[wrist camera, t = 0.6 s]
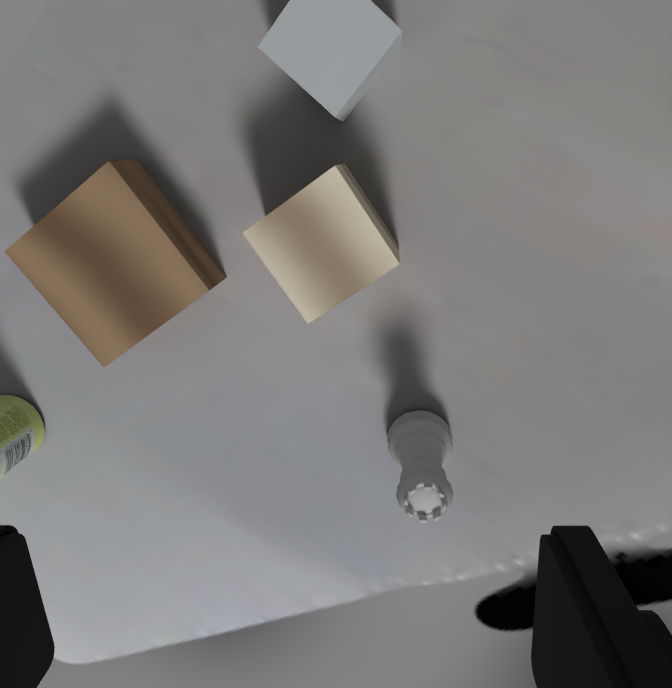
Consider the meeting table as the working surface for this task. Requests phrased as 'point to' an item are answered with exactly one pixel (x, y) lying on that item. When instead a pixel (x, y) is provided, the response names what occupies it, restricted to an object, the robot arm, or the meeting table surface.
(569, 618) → the robot arm
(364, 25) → the grey block
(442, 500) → the rook chess piece
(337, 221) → the birch block
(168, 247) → the walnut block
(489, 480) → the meeting table surface
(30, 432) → the tube
